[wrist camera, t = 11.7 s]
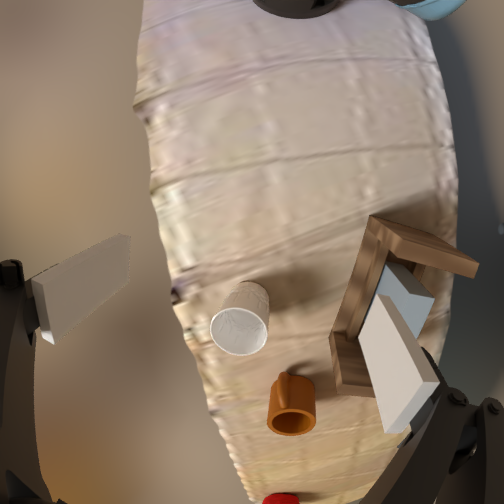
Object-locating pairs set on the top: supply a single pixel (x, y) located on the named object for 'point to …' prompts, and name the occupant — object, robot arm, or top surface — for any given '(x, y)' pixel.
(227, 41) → the top surface
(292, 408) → the mug
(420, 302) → the gray rectangular block
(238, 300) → the white cup
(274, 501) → the tomato
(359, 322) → the wooden frame
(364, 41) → the top surface
